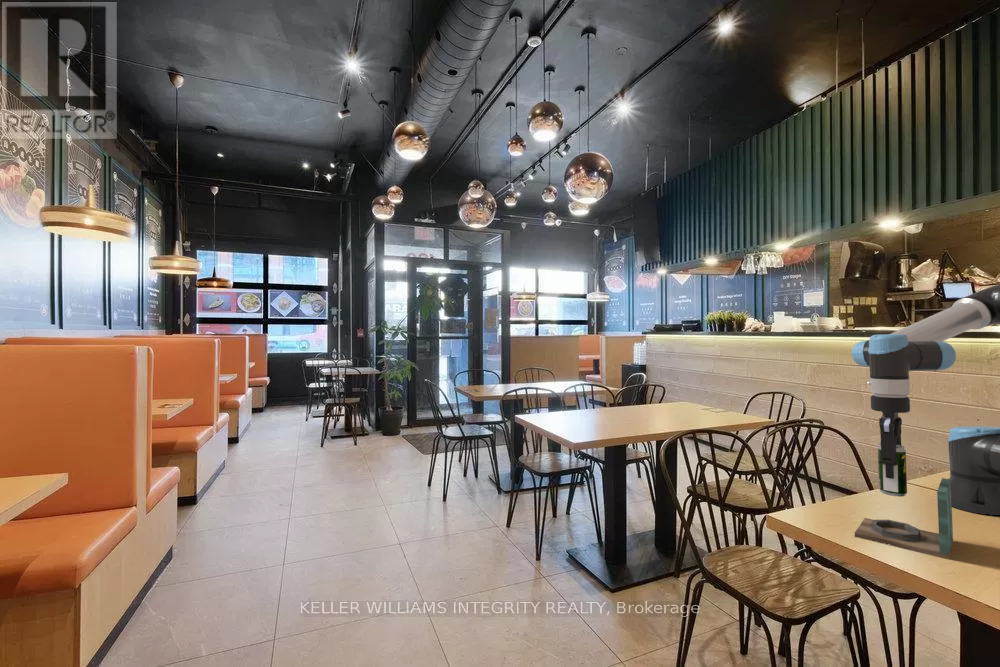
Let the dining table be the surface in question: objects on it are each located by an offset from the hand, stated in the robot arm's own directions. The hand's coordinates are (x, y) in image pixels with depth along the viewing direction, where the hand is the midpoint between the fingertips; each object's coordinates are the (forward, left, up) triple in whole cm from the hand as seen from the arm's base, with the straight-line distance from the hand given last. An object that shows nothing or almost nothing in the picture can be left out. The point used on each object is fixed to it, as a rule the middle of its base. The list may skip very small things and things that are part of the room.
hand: (892, 487), depth 114 cm
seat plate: (-1, +1, -12) cm, 12 cm away
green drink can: (0, 0, -2) cm, 2 cm away
